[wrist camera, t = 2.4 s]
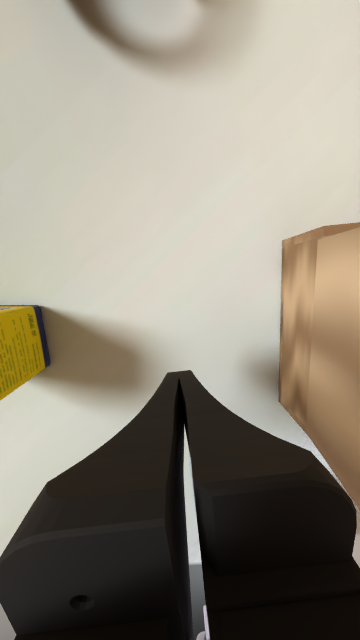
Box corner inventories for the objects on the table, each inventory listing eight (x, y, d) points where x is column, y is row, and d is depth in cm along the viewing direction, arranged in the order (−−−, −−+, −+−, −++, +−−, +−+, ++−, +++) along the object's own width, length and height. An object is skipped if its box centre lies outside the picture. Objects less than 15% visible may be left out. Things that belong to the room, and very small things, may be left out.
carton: (371, 391, 20) (428, 423, 15) (278, 401, 19) (309, 437, 15) (395, 229, 16) (479, 210, 12) (282, 240, 16) (323, 226, 12)
